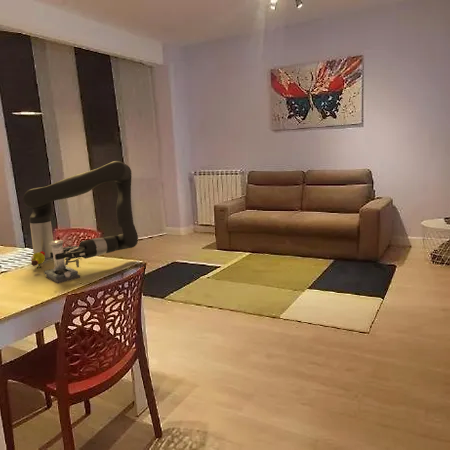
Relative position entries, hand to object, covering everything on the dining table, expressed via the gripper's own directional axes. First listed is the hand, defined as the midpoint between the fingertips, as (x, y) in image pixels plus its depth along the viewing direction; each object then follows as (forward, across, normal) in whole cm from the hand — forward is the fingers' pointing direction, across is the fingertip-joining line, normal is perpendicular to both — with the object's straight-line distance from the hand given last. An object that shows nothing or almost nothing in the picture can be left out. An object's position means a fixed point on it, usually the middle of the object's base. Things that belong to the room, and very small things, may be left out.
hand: (53, 256), depth 161 cm
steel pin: (-2, 0, +8) cm, 9 cm away
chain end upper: (-3, 0, +9) cm, 10 cm away
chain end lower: (-3, 0, +9) cm, 10 cm away
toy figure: (-2, -22, +10) cm, 24 cm away
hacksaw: (-15, -13, +10) cm, 22 cm away
